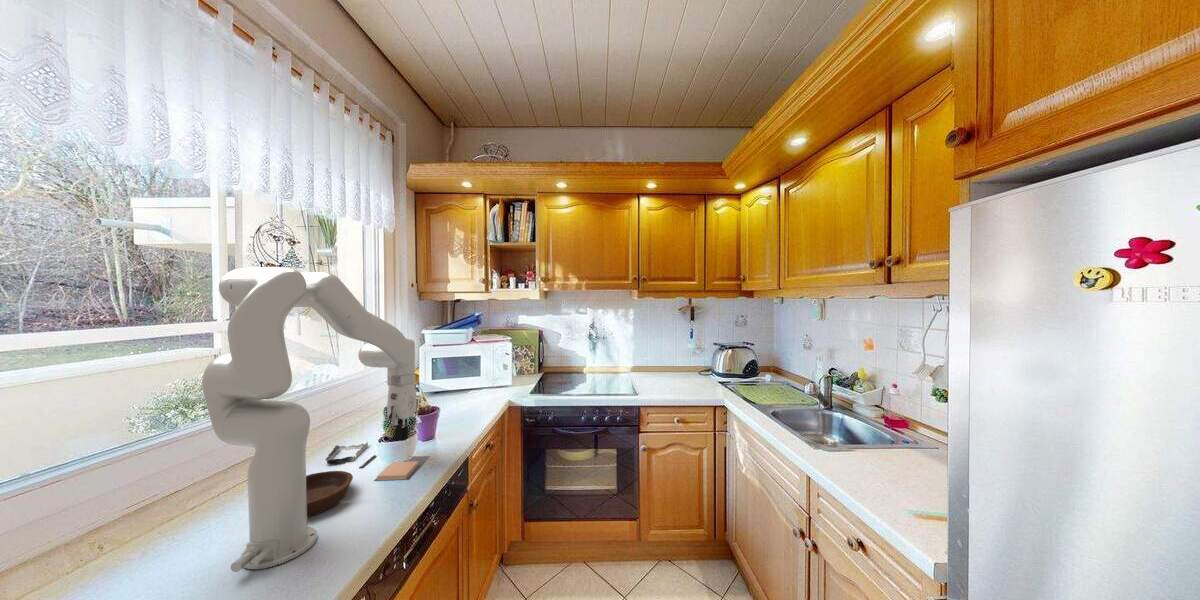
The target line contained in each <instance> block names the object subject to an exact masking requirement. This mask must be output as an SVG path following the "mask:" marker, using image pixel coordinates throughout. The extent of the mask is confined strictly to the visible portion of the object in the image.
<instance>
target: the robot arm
mask: <svg viewBox="0 0 1200 600" xmlns="http://www.w3.org/2000/svg"><path fill="white" fill-rule="evenodd" d="M218 292H219V294H220V296H221V298H222V299H223V300H224V301H225V302H227V303H228V304H230V305H232V306H234V307H236V309H235V310H234V312H232V315H231V316H230V319H229V322H228V325H227V341H228V347H229V352H227V353H223V354H221V355H218V356H216V357H214V358H213V359H212V361H210V362H209V363H208V364H207V366H206V367H205V369H204V372H203V375H202V380H201V385H202V387H201V388H202V392H203V396H204V400H205V404H206V408H207V411H208V415H209V419H210V422H211V426H212V429H213V431H214V434H215V435H216V436H217V438H218V439H219V440H220V441H221V442H223V443H226V444H228V445H230V446H231V445H232V446H240V447H248V448H254V449H255V451H254V454H253V456H252V459H251V461H250V462H249V463H250V464H249V466H248V469H247V475H246V477H247V478H246V479H247V482H246V483H247V498H248V499H247V501H248V528H249V529H248V530H249V533H248V534H249V541H248V542H247V543H246V546H245V549H244V550H243V551H242V552H241V554H240V557H238V558H237V559H236V560H235V561H234V562H232V563H231V565H230V570H231V571H232V572H234V573H238V572H240V571H241V570H242V569H248V570H263V569H268V567H269V568H272V566H273V567H276V566H278V565H277V564H279V565H281V563H282V564H284V562H285V563H287V562H288V560H289V561H291V560H290V559H292V558H293V559H295V558H297V557H299V556H301V555H302V554H304V553H306V552H307V551H308V550H309V549H311V547H312V546H313V545H314V544H315V542H317V541H316V540H317V530H316V529H315V528H313V527H311V526H308V517H307V488H306V476H307V468H306V467H307V466H306V465H307V464H306V463H307V460H306V457H307V456H306V455H307V454H306V453H307V452H306V451H307V450H306V449H307V443H308V436H309V433H310V428H311V427H310V426H311V417H310V413H309V412H308V410H307V408H305V407H303V406H302V405H301V404H298V403H296V402H291V401H285V400H272V399H275V398H278V397H281V396H282V395H284V394H285V393H286V392H287V391H288V390H289V389H290V387H291V385H292V381H293V374H292V369H291V368H292V367H291V363H290V359H289V354H288V349H287V345H286V339H285V333H284V326H285V322H286V320H287V317H288V316H289V314H290V313H291V311H292V310H293V308H300V307H301V308H311V309H312V310H314V311H315V312H316V313H317V314H318V315H319V316H320V317H321V318H322V319H323V320H324V321H325V322H326V323H327V324H328V325H330V327H331V328H332V329H333V330H334V331H335V332H336V333H338V334H340V335H341V336H344V337H347V338H349V339H352V340H357V341H360V342H363V343H364V344H363V345H362V346H361V347H360V349H359V351H358V360H359V361H360V362H359V363H361V364H363V365H364V366H366V367H369V368H370V367H371V368H385V369H387V373H386V375H387V377H386V378H387V380H386V381H387V382H386V383H387V384H386V385H387V387H388V393H387V404H386V405H387V408H386V409H387V410H386V411H387V413H386V415H387V419H388V420H389V421H391V422H390V425H391V426H393V427H394V441H396V442H398V441H399V442H404V441H405V442H406V440H408V438H409V423H410V422H409V421H410V417H411V416H412V415H413V414H415V413H416V412H417V409H418V408H417V391H416V343H415V340H414V339H412V338H406V336H405V335H404V334H403V333H402V332H401V330H399V329H398V328H397V327H395V325H393V324H391V323H390V322H387V321H386V320H383V319H382V318H381V317H378V316H377V315H375V314H373V313H371V312H369V311H368V310H367V309H366V308H365V307H364V306H363V305H362V303H361V302H360V301H359V300H358V299H357V298H356V296H355V295H354V294H353V293H352V291H350V289H349V288H348V287H347V286H346V285H345V284H344V282H343V281H341V279H340V278H339V277H338V276H336V275H335V274H334V273H331V272H327V271H302V272H301V271H299V270H297V269H293V268H290V267H285V266H283V267H282V266H265V267H264V266H263V267H241V268H235V269H232V270H230V271H228V272H227V273H225V274H224V275H223V276H222V277H221V279H220V281H219V282H218ZM300 554H301V555H300ZM293 559H292V560H293ZM286 561H287V562H286ZM275 565H276V566H275Z"/></svg>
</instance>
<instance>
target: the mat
mask: <svg viewBox="0 0 1200 600" xmlns="http://www.w3.org/2000/svg"><path fill="white" fill-rule="evenodd" d="M411 457H412V456H411ZM430 457H431V455H422V456H421V455H419V456H413V457H412V458H411V459H410V460H409V461H407V462H412V461H419V465H418V466H417V468H416V469H415V470H414V471H413V472H412V473H411V474H410V475H409V476H408V477H407V479H398V480H397V481H410V480H411V478H413V476H414V475H415V474H416V473H418V471H419V470H420V468H421V467H423V465H424V464H425V462H426V461H427V460H428V459H429V458H430ZM389 481H392V482H393V481H394V482H395V480H377V477H375V479H374V480H373V482H389Z"/></svg>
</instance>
